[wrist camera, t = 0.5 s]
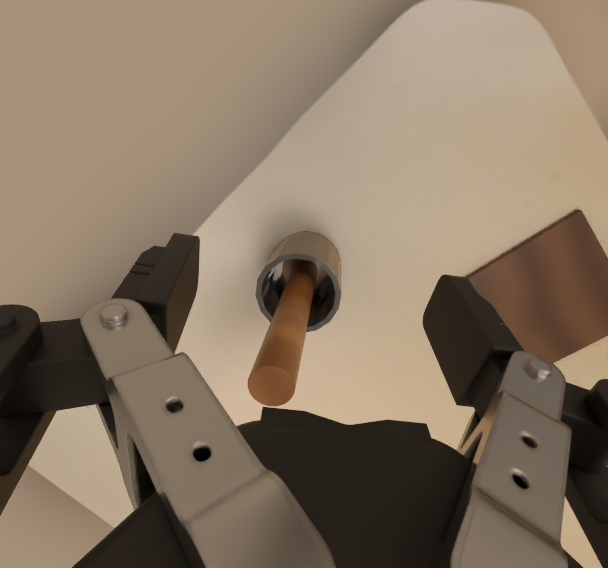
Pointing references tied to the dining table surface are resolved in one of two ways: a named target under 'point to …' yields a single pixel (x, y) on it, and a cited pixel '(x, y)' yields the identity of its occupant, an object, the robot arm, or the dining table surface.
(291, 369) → the cylinder
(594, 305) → the board
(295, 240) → the holder
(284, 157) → the dining table surface
